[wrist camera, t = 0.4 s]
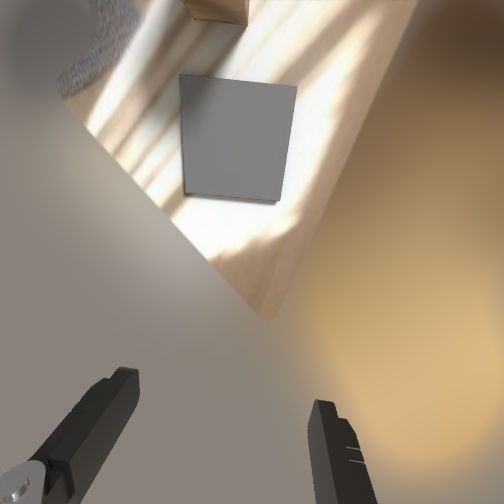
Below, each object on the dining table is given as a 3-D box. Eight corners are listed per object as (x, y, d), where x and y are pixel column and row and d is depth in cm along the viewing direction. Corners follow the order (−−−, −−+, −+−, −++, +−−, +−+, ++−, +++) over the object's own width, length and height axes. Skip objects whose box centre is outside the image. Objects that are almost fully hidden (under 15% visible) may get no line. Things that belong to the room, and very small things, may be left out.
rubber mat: (187, 190, 33) (185, 192, 32) (181, 75, 26) (179, 74, 26) (279, 199, 33) (279, 201, 32) (296, 87, 27) (297, 86, 26)
